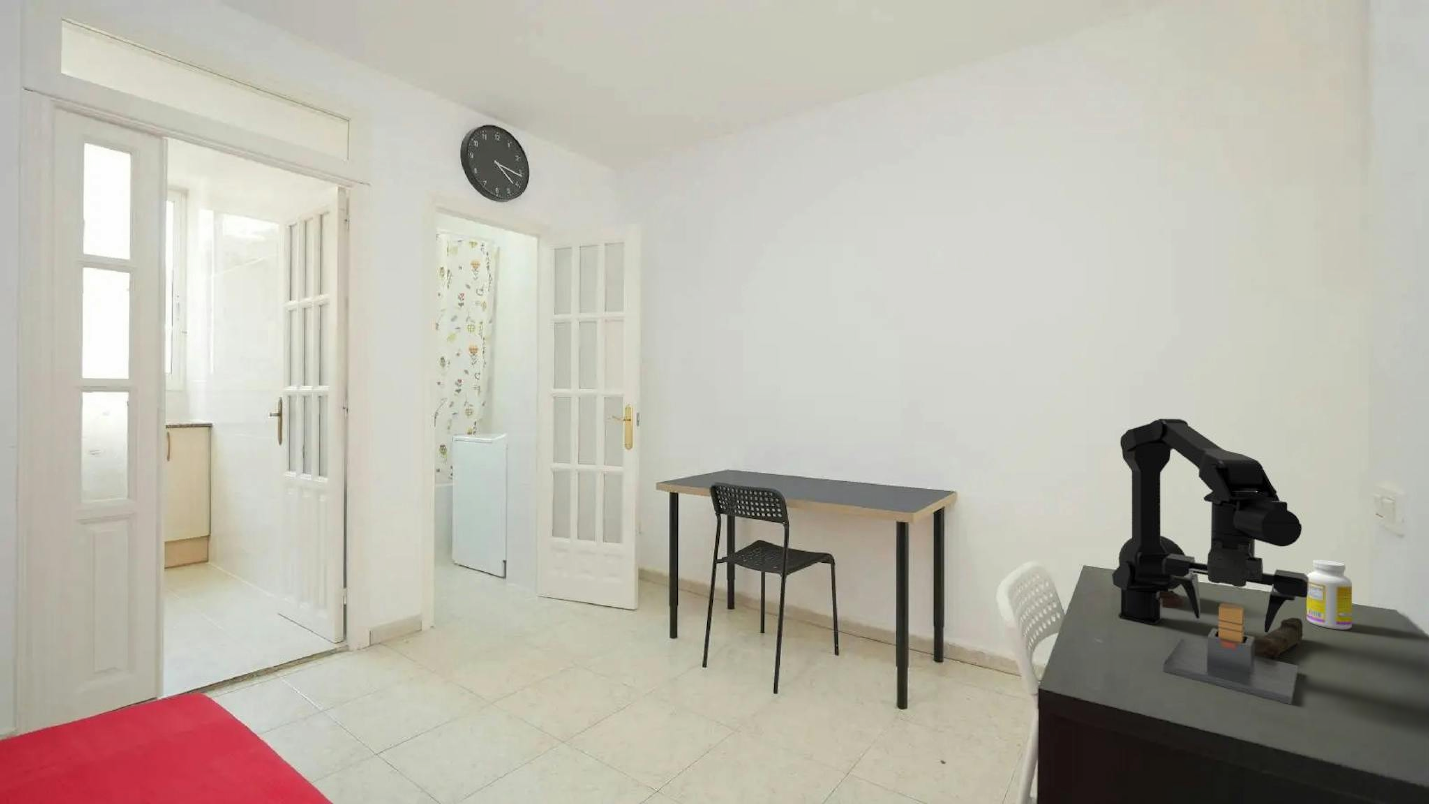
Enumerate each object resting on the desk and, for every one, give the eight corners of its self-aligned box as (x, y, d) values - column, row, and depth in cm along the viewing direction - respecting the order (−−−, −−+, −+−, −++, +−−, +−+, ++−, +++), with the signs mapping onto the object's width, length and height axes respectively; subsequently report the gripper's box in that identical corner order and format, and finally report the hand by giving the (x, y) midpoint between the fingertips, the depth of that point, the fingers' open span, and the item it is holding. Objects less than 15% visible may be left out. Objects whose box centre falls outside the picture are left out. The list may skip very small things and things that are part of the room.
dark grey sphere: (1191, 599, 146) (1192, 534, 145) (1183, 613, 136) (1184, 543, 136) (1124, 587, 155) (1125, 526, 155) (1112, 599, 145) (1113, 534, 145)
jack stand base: (1163, 671, 107) (1163, 635, 107) (1181, 645, 118) (1181, 613, 118) (1291, 704, 95) (1292, 665, 95) (1297, 672, 106) (1298, 637, 106)
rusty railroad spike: (1276, 665, 110) (1276, 639, 110) (1248, 656, 114) (1248, 631, 113) (1318, 645, 120) (1319, 621, 119) (1291, 638, 123) (1291, 614, 123)
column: (1217, 663, 107) (1218, 607, 106) (1220, 657, 109) (1221, 602, 109) (1241, 668, 104) (1242, 611, 104) (1243, 663, 107) (1244, 607, 106)
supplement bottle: (1350, 624, 130) (1351, 562, 130) (1352, 633, 125) (1353, 568, 125) (1306, 616, 134) (1307, 556, 134) (1306, 624, 130) (1307, 562, 129)
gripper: (1155, 530, 107) (1154, 622, 107) (1306, 550, 94) (1304, 654, 94) (1169, 522, 115) (1167, 607, 115) (1309, 539, 102) (1307, 635, 102)
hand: (1231, 624), depth 106 cm, fingers open, 9 cm apart
